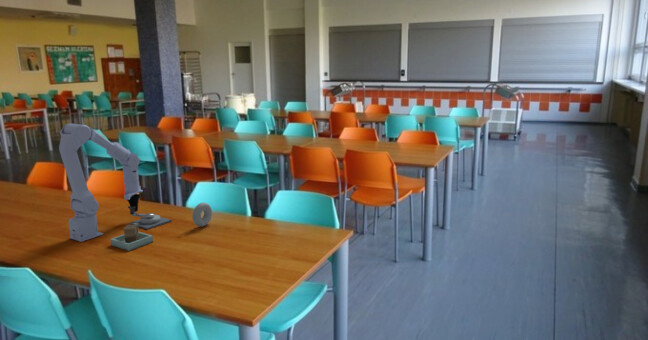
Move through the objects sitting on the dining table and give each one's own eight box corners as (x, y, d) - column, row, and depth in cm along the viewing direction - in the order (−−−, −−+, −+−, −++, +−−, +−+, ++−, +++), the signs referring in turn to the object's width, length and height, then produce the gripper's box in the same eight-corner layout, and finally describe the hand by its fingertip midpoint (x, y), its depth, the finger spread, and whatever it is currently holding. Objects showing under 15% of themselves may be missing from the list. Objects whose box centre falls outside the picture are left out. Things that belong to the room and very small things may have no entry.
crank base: (147, 229, 196) (147, 224, 195) (129, 224, 202) (128, 219, 202) (171, 221, 206) (171, 216, 205) (153, 216, 212) (152, 211, 211)
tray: (128, 251, 174) (128, 244, 173) (111, 245, 179) (110, 239, 179) (153, 241, 182) (152, 235, 182) (135, 236, 188) (135, 230, 187)
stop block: (136, 243, 179) (135, 228, 178) (125, 244, 179) (123, 228, 178) (139, 239, 183) (137, 224, 182) (128, 240, 183) (126, 225, 181)
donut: (197, 230, 194) (196, 206, 192) (191, 229, 196) (189, 205, 194) (214, 223, 203) (213, 200, 201) (208, 221, 205) (206, 199, 202)
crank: (155, 216, 204) (154, 206, 204) (151, 218, 201) (150, 208, 200) (131, 214, 207) (130, 205, 206) (126, 216, 204) (125, 207, 203)
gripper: (135, 184, 196) (138, 216, 199) (146, 176, 210) (149, 206, 213) (117, 185, 196) (121, 216, 199) (130, 176, 210) (133, 206, 213)
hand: (134, 211), depth 206 cm, fingers closed, pressing on crank
